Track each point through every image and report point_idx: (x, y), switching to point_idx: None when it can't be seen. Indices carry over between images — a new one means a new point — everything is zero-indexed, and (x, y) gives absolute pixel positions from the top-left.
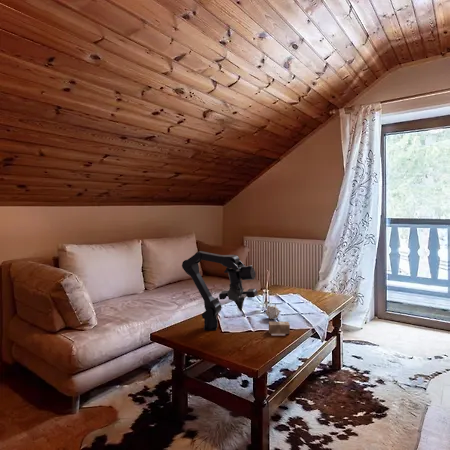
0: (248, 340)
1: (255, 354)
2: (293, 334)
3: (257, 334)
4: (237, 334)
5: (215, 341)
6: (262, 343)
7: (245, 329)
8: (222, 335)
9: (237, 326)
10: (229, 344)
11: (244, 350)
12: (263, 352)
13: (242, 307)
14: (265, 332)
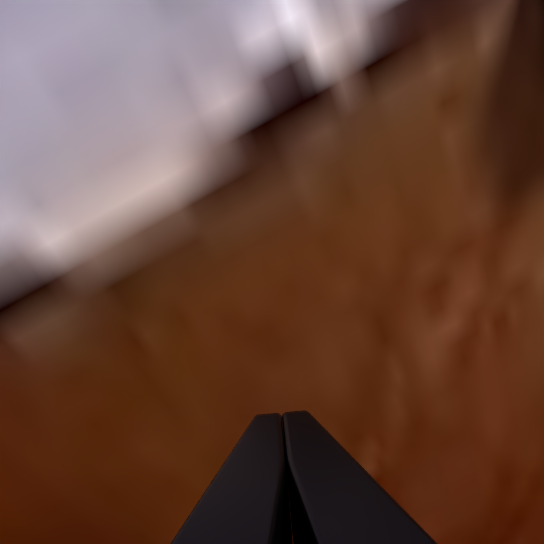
0: (368, 355)
1: (487, 519)
2: None
3: (418, 161)
4: (192, 286)
5: (73, 541)
6: (508, 340)
7: (212, 72)
8: (41, 402)
9: (28, 5)
10: None
11: None
12: (537, 466)
13: (340, 447)
14: (500, 44)
